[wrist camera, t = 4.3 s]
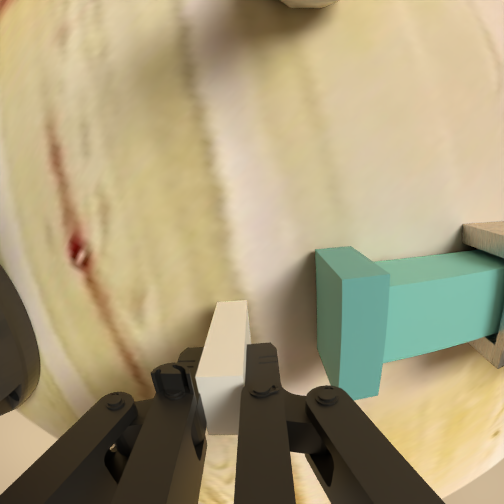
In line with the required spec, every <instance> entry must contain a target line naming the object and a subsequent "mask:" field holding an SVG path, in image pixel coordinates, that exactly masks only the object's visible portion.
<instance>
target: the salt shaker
mask: <svg viewBox="0 0 504 504" xmlns="http://www.w3.org/2000/svg"><path fill="white" fill-rule="evenodd" d="M280 1H282V2H283V3H284V4H286V5H287V6H288V7H290V8H323V7H325V6H328V5H330V4H333V3H336V2H338V1H339V0H280Z"/></svg>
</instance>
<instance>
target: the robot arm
mask: <svg viewBox="0 0 504 504" xmlns="http://www.w3.org/2000/svg"><path fill="white" fill-rule="evenodd" d="M39 373H40V362H39V353H38V348H37V343H36V339H35V335H34V332H33V329H32V326H31V323H30V320H29V318H28V315H27V313H26V310H25V308H24V305H23V303H22V301H21V299H20V297H19V295H18V293H17V291H16V289H15V287H14V285H13V284H12V282H11V280H10V279H9V277H8V275H7V274H6V272H5V271H4V269H3V268H2V266H1V265H0V416H1V415H3V414H5V413H7V412H10V411H12V410H14V409H16V408H18V407H19V406H20V405H21V404H22V403H23V402H24V401H25V400H26V399H27V398H28V397H29V395H30V394H31V393H32V392H33V391H34V389H35V388H36V386H37V383H38V380H39ZM151 376H152V380H153V383H154V387H155V390H156V395H155V397H154V398H153V399H149V400H144V401H137V402H134V399H133V398H132V396H131V395H130V394H127V393H125V392H114V393H110V394H108V395H105V396H104V397H102V398H101V399H100V400H99V401H98V402H97V403H96V404H95V405H94V406H93V407H92V408H91V409H90V410H89V411H87V412H86V413H85V414H84V415H83V416H82V417H81V418H80V419H79V420H78V421H77V422H76V423H75V424H74V425H73V426H72V427H71V428H70V429H69V430H68V431H67V432H66V433H65V434H64V435H63V436H61V437H60V438H59V439H58V440H57V441H56V442H55V443H54V444H53V445H52V446H51V447H50V448H49V449H48V450H47V451H46V452H45V453H44V454H43V455H42V456H41V457H40V458H39V459H38V460H36V461H35V462H34V463H33V464H32V465H31V466H30V467H29V468H28V469H27V470H26V471H25V472H24V473H23V474H22V475H21V476H20V477H19V478H18V479H17V480H16V481H15V482H14V483H13V484H12V485H10V486H9V487H8V488H7V489H6V490H5V491H4V492H3V493H2V494H1V495H0V504H198V499H199V493H200V486H201V480H202V474H203V467H204V461H205V455H206V449H207V441H206V437H205V431H206V426H207V430H208V434H209V435H238V447H237V462H236V478H235V494H234V504H296V501H295V492H294V483H293V474H292V466H291V457H290V452H297V453H305V457H306V459H307V461H308V462H309V464H310V466H311V468H312V470H313V472H314V473H315V475H316V477H317V479H318V481H319V482H320V484H321V486H322V488H323V490H324V491H325V493H326V495H327V497H328V498H329V500H330V502H331V504H445V503H444V502H443V501H442V499H441V498H440V497H439V496H438V495H437V494H436V493H435V492H434V491H433V490H432V488H431V487H430V486H429V485H428V484H427V483H426V482H425V481H424V480H423V479H422V477H421V476H420V475H419V474H418V473H417V472H416V471H415V470H414V469H413V467H412V466H411V465H410V464H409V463H408V462H407V461H406V460H405V458H404V457H403V456H402V455H401V454H400V453H399V452H398V451H397V450H396V448H395V447H394V446H393V445H392V444H391V443H390V442H389V440H388V439H387V438H386V437H385V436H384V435H383V434H382V433H381V431H380V430H379V429H378V428H377V427H376V426H375V425H374V423H373V422H372V421H371V420H370V419H369V418H368V417H367V415H366V414H365V413H364V412H363V411H362V410H361V408H360V407H359V406H358V405H357V404H356V403H355V402H354V400H353V399H352V398H351V397H350V396H349V395H348V393H347V392H346V391H344V390H343V389H342V388H339V387H336V386H327V385H326V386H320V387H317V388H314V389H312V390H311V391H310V392H309V393H308V394H307V396H300V395H295V394H292V393H289V392H287V391H286V390H284V389H283V387H282V386H281V382H280V374H279V366H278V358H277V350H276V348H275V347H274V346H273V345H272V344H271V343H260V344H251V336H250V326H249V315H248V305H247V300H240V301H225V302H217V305H216V308H215V312H214V315H213V318H212V322H211V325H210V328H209V332H208V335H207V339H206V342H205V345H204V347H197V348H187V349H186V350H185V351H183V352H182V353H181V354H180V357H179V359H178V362H177V363H167V364H164V365H160V366H158V367H157V368H155V369H154V370H153V371H152V372H151ZM113 444H115V447H114V448H113V449H111V450H110V449H109V448H110V447H111V446H112V445H113Z"/></svg>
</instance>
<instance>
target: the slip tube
mask: <svg viewBox="0 0 504 504" xmlns="http://www.w3.org/2000/svg"><path fill="white" fill-rule="evenodd" d="M315 262H316V294H317V349H318V352H319V355H320V357H321V360H322V363H323V365H324V368H325V371H326V373H327V376H328V379H329V382H330V384H331V386H336V387H339V388H342V389H343V390H344V391H346V392H347V393H348V395H349V396H350V397H351V398H352V399H353V400H358V399H363V398H368V397H373V396H377V395H378V392H379V386H380V379H381V372H382V365H383V363H386V362H391V361H396V360H400V359H405V358H409V357H414V356H418V355H422V354H426V353H430V352H434V351H438V350H441V349H445V348H449V347H452V346H456V345H459V344H463V343H466V342H469V341H473V340H476V339H479V338H482V337H485V336H488V335H491V334H494V333H497V332H498V331H499V327H500V323H501V318H502V313H503V308H504V258H502V257H499V256H496V255H494V254H491V253H489V252H486V251H483V250H481V249H479V250H471V251H463V252H455V253H447V254H438V255H430V256H422V257H413V258H404V259H395V260H386V261H377V262H373V261H371V260H370V259H368V258H367V257H365V256H364V255H363V254H361V253H360V252H358V251H357V250H355V249H354V248H352V247H351V246H349V247H338V248H327V249H315Z"/></svg>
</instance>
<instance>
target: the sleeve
mask: <svg viewBox="0 0 504 504" xmlns="http://www.w3.org/2000/svg"><path fill="white" fill-rule="evenodd" d="M462 243H464V244H467V245H470V246H473V247H475V248H478V249H481V250H483V251H486V252H489V253H491V254H494V255H496V256H499V257H502V258H504V221H503V222H487V223H472V224H463V234H462ZM467 343H468V344H470V345H471V346H472V347H473V348H474V349H475V350H477V351H478V352H479V353H480V354H481V355H482V356H483V357H485V358H486V359H487V360H488V361H489V362H490V363H491V364H492V365H494V366H495V367H496V368H497V369H499V368H501V367H503V366H504V308H503V313H502V318H501V323H500V327H499V331H498V332H497V333H494V334H491V335H488V336H485V337H482V338H479V339H476V340H473V341H469V342H467Z"/></svg>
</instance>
